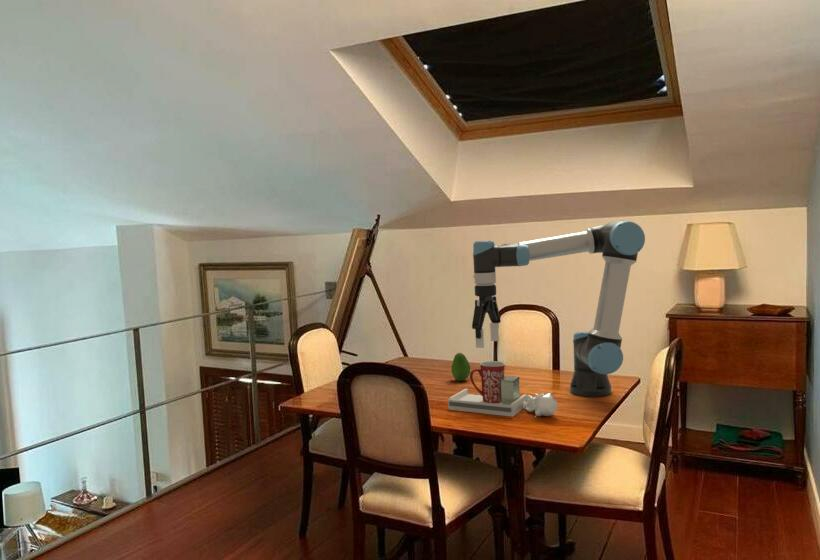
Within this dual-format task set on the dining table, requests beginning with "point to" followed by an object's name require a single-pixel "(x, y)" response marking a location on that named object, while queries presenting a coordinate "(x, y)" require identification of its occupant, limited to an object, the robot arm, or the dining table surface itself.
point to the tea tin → (510, 389)
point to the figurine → (541, 404)
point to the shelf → (483, 404)
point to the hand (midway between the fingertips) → (487, 344)
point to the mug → (490, 380)
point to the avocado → (460, 367)
